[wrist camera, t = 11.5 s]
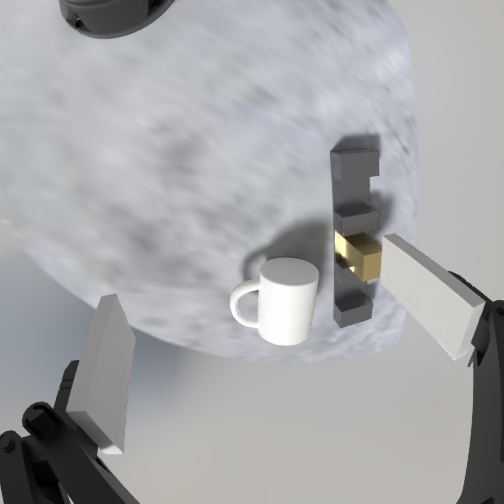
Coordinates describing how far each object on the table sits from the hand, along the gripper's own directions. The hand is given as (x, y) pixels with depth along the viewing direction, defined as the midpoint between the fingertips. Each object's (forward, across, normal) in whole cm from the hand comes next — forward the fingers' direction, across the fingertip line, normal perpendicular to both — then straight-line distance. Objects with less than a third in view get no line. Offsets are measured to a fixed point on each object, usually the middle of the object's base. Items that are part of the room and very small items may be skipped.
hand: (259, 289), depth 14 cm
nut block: (+26, +19, -14) cm, 35 cm away
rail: (+27, +19, -13) cm, 35 cm away
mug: (+27, +5, -18) cm, 33 cm away
